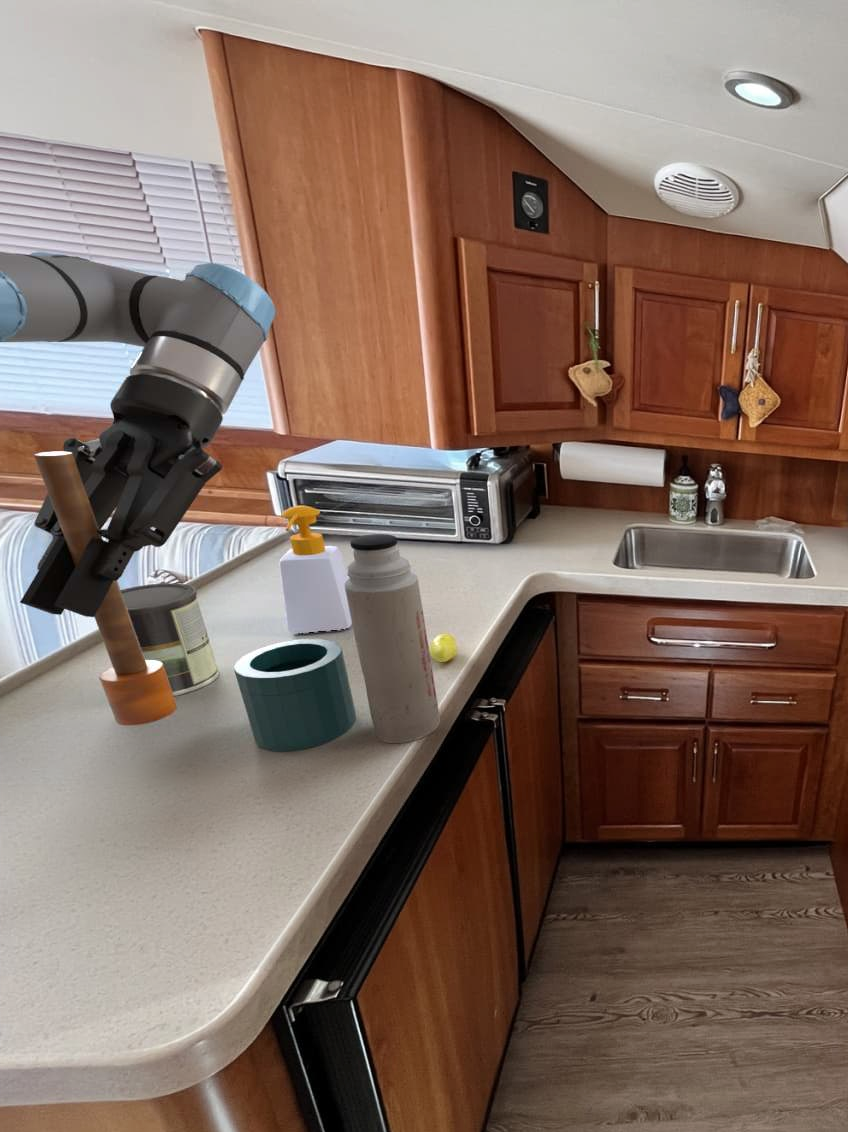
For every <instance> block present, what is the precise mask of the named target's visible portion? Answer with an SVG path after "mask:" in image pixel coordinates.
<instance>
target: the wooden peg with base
mask: <svg viewBox="0 0 848 1132" xmlns="http://www.w3.org/2000/svg"><path fill="white" fill-rule="evenodd" d="M33 457H34V460H35V462H36V466H37V468H38V470H39V473H40V475H41V477H42V478H41V479H42V482H43V483H44V486H45V489H46V492H47V494H49V497H50V500H51V502H52V505H53V508H54V510H55V513H56V516H57V518H58V521H59V524H60V526H61V529H62V532H63V534H64V537H65V540H66V542H67V545H68V548H69V550H70V553H71V556H72V558H73V561H74V564H75V566H77V564H78V562H79V560H80V559H81V557H82V555H83V553H84V552H85V550H86V548H87V546H88V545H89V543H90V541H91V539H92V538H96V539H102V540H104V539H103V537H102V536H100V535H98V534H97V530H99V528H98V525H97V522H96V519H95V516H94V513H93V510H92V508H91V505H90V502H89V499H88V496H87V493H86V491H85V488H84V485H83V482H82V479H81V476H80V474H79V471H78V468H77V465H76V462H75V459H74V456H73V454H72V453H71V452H64V451H43V452H38V453H33ZM121 590H122V589H121V588H120V585H119V582H118V580H117V581H113V583H112V585H111V587H110V588H109V590H108V592H107V594H106V596H105V598H104V600H103V601H102V603H101V605H100V607H99V609H98V611H97V613H96V615H95V616H94V617H93V618H94V619H95V622H96V625H97V628H98V630H99V633H100V636H101V638H102V641H103V644H104V647H105V649H106V652H107V654H108V658H109V660H110V663H111V665H112V667H110V668H108V669H106V670H104V671H102V672H101V673H100V675H99V676H98V677H99V681H100V684H101V686H102V689H103V691H104V694H105V696H106V699H107V701H108V704H109V706H110V709H111V713H112V714H113V717H114V719H115V722H116V723H117V724H118V725H120V726H129V727H131V726H141V725H146V724H150V723H154V722H158V721H159V720H162V719H164V718H167V717H168V716H171V715H172V714H173V713H174V712H176V710H177V709H178V704H177V700H176V698H175V696H174V695H173V692H172V689H171V686H170V683H169V680H168V677H167V674H166V672H165V669H164V666H163V663H162V662H160V661H157V660H145V658H144V656H143V653H142V650H141V647H140V644H139V641H138V639H137V636H136V633H135V630H134V627H133V624H132V621H131V619H130V616H129V613H128V610H127V607H126V604H125V602H124V599H123V596H122V593H121Z"/></svg>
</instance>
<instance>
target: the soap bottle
mask: <svg viewBox="0 0 848 1132" xmlns="http://www.w3.org/2000/svg"><path fill="white" fill-rule="evenodd" d="M280 515H281V517H283V518H287V520H288V521H287V522H288V523H287V526H286V527H285V531H286V532H289V531H290V529H291V527H292V526H297V529H298V532H299V533H296V534H292V535H291V536H290V537H289V540H290V541H289V542H290V545H291V548H289V549H288V550H287V551H285V553H284V554H283V556H282V557H281V558H280V559H279V563H278V567H279V574H280V583H281V591H282V598H283V605H284V606H283V607H284V612H285V614H284V615H285V621H286V622H285V623H286V629H287V631H289V633H290V634H295V635H301V633H303V634H310V633H309V632H314V633H319V632H318V631H326V632H332V631H331V630H337V631H342V630H341V629H344V630H347V629H346V628H348V629H350V628H351V626H352V621H351V616H350V611H349V606H348V601H347V596H346V591H345V582H346V581H347V580H348V579H350V578H349V576H348V574H347V573H348V570H347V568H346V564H345V561H344V557H343V555H342V552H341V550H340V549H339V547H337V546H335V545H325V542H324V538H323V534H322V533H320V532H312V531H311V525H312V524H315V523H316V522H317V517H316V516H318V515H321V511H320V509H317V508H315V507H312V506H307V505H294V506H292V507H288V508H287V509H285V510H284V511H282V512H281V514H280ZM349 627H350V628H349ZM298 633H300V634H298Z"/></svg>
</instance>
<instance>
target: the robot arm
mask: <svg viewBox="0 0 848 1132" xmlns="http://www.w3.org/2000/svg"><path fill="white" fill-rule="evenodd" d="M275 317H276V307H275V303H274V302H273V300H272V299H271V298H270V296H269V294H268V293H267V292H266V290H264V288H263V287H262V286H261V285H260V284H258V282H257V281H256V282H255V281H254V280H253V279H252V278H250V277H249V276H247V275H245V274H244V273H242V272H241V271H238V270H236V269H234V268H232V267H229V266H227V265H224V264H219V263H215V262H207V263H201V264H196V265H195V266H194V267H193V268H192V269H191V270H190V272H189V271H188V272H187V273H185V278H184V279H183V280H181V279H176V278H172V277H167V276H159V275H152V274H148V273H144V272H139V271H135V270H131V269H126V268H122V267H119V266H113V265H109V264H105V263H100V262H96V261H93V260H91V259H88V258H85V257H80V256H78V255H77V256H75V255H74V256H73V255H66V254H61V253H51V252H43V251H38V252H37V251H35V252H31V253H30V254H25V253H17V252H14V253H13V252H7V251H0V343H38V342H39V343H40V342H42V343H43V342H45V343H55V342H56V343H95V342H96V343H102V342H103V343H105V342H107V343H119V344H124V345H131V346H137V347H142V350H141V351H140V353H139V355H138V356H137V357H136V359H135V360H134V362H133V364H132V365H131V367H130V369H129V375H128V376H126V377H125V378H124V380H123V382H122V383H121V385H120V386H119V388H118V390H117V391H116V393H115V395H114V396H113V397H112V399H111V401H110V405H109V406H110V410H111V412H112V415H113V422H112V423H111V424H110V425H109V426H108V427H107V428H105V429H103V431H101V433H100V434H99V438H97V439H92V440H89V441H84V442H82V441H81V440H79V439H78V438H77V437H69V438H67V439H66V440H65V441H64V442H63V445H62V446H63V451H62V452H71V453H72V454H73V456H74V459H75V462H76V465H77V468H78V471H79V474H80V476H81V479H82V482H83V485H84V488H85V491H86V493H87V496H88V499H89V502H90V505H91V508H92V510H93V513H94V516H95V519H96V522H97V525H98V528H99V530H97V534H98V535H100V536H102V539H103V538H104V539H106V540H107V541H106V540H104V539H103V540H102V539H96V538H92V539H91V541H90V543H89V545H88V546H87V548H86V550H85V552H84V553H83V555H82V557H81V559H80V560H79V562H78V564H77V566H75V564H74V561H73V558H72V556H71V553H70V550H69V548H68V545H67V542H66V540H65V537H64V534H63V532H62V529H61V526H60V524H59V521H58V518H57V516H56V513H55V510H54V508H53V505H52V502H51V500H50V497H49V494H48V493H47V494H46V496H45V497H44V501H43V503H42V505H41V506H40V509H39V510H38V511H39V512H38V513H37V516H36V518H35V520H34V523H33V525H34V527H36V528H38V529H40V530H42V531H44V532H46V533H48V534H50V535H51V536H52V538H51V539H52V540H51V541H50V543H49V545H48V546H47V548H46V550H45V552H44V553H43V554H42V557H41V558H40V559H39V562H38V563H37V568H36V569H37V573H36V574H35V576H34V578H33V579H32V581H31V583H30V584H29V586H28V588H27V590H26V591H25V593H24V594H23V596H22V597H21V599H20V601H19V603H20V604H23V605H26V606H28V607H31V608H34V609H37V610H40V611H43V612H45V613H48V614H50V615H59V616H60V615H62V614H63V613H64V610H66V611H69V612H72V613H75V614H78V615H81V616H83V617H86V618H95V617H94V616H95V615H96V613H97V611H98V609H99V607H100V605H101V603H102V601H103V600H104V598H105V596H106V594H107V592H108V590H109V588H110V587H111V585H112V583H113V581H117V582H118V580H119V579H121V578H122V576H123V574H124V572H125V570H126V569H127V566H128V565H129V563H130V562H131V559H132V557H133V555H134V554H135V552H138V551H140V550H142V549H143V548H144V547H148V546H153V547H155V548H160V547H163V546H164V545H166V543H167V542H168V540H169V538H170V537H171V536H172V534H173V532H174V531H175V529H176V528H177V527H178V525H179V523H180V522H181V521H182V519H183V517H184V516H185V515H186V513H187V512H188V510H189V509H190V507H191V506H192V505H193V503H194V501H195V500H196V498H197V496H199V494H200V492H201V491H202V489H203V488H204V486H205V485H206V483H207V482H208V481H210V480H211V479H212V478H213V477H214V476H216V475H217V474H218V473H219V472H220V471H221V470H222V469H223V467H224V466H223V464H222V463H221V461H218V460H217V459H216V458H215V457H213V456H212V455H210V454H209V453H208V452H207V451H205V450H204V449H203V448H205V447H208V446H210V444H212V442H213V440H214V438H215V436H216V434H217V432H218V430H219V429H220V426H221V425H222V422H223V419H224V417H223V415H225V414H226V413H227V412H228V410H229V408H230V406H231V404H232V402H233V400H234V399H235V397H236V394H237V393H238V391H239V389H240V386H241V385H242V382H243V381H244V380H245V375H246V374H247V372H248V369H249V368H250V367H251V364H252V363H253V361H254V359H255V358H256V357H257V354H258V353H259V351H260V349H261V348H262V347H263V345H264V343H265V342H266V341H267V339H268V333H269V331H270V329H271V326H272V324H273V321H274V319H275ZM111 516H112V517H111ZM110 517H111V520H110V521H109V524H108V526H107V528H105V529H102V528H104V526H105V524H106V523H107V522H108V520H109V519H110ZM152 528H154V529H152Z"/></svg>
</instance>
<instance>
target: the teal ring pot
mask: <svg viewBox="0 0 848 1132" xmlns="http://www.w3.org/2000/svg"><path fill="white" fill-rule="evenodd" d="M347 670H348V669H347V666H346V661H345V656H344V652H343V648H342V646H341V645H340V644H339V643H338V642H336V641H333V640H329V639H324V638H323V639H322V638H301V639H292V640H286V641H281V642H277V643H272V644H269V645H266V646H263V647H260V648H256V649H254V650H252V651H251V652H249V653H247V654H245V655H243V656H242V657H240V658H239V659H238V660H237V661H236V662H235V664H234V667H233V671H234V675H235V678H236V680H237V684H238V689H239V692H240V695H241V698H242V701H243V705H244V709H245V712H246V715H247V719H248V723H249V726H250V729H251V732H252V736H253V738H254V741H255V744H256V745H257V746H258V747H259V748H261V749H262V750H266V751H270V752H294V751H301V750H306V749H310V748H314V747H317V746H320V745H323V744H326V743H328V742H332V741H333V740H335V739H337V738H339V737H341V736H342V735H344V734H345V733H347V732H348V731H349V730H351V728H352V727H353V726H354V724H355V723H356V720H357V715H356V708H355V703H354V699H353V693H352V690H351V689H352V688H351V684H350V680H349V676H348V671H347Z"/></svg>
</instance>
